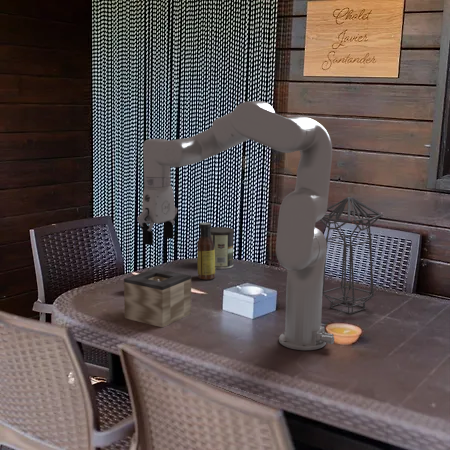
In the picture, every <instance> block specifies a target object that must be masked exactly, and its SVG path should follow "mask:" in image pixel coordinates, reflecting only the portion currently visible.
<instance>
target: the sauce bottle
mask: <svg viewBox="0 0 450 450" xmlns="http://www.w3.org/2000/svg"><path fill="white" fill-rule="evenodd" d="M198 227H199V238H198V240H197V242H196V247H197V248H196V249H197V250H196V253H197V254H196V255H197V256H196V257H197V258H196V259H197V261H196V262H197V275H198V276H197V277H198V279H200V280H204V281H205V280H206V281H208V280H213V279H215V278H216V277H215V276H216V269H215V247H214V243H213V240H212V237H211V229H210V228H212V223H211V222H206V221H205V222H200V223H199V226H198Z"/></svg>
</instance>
